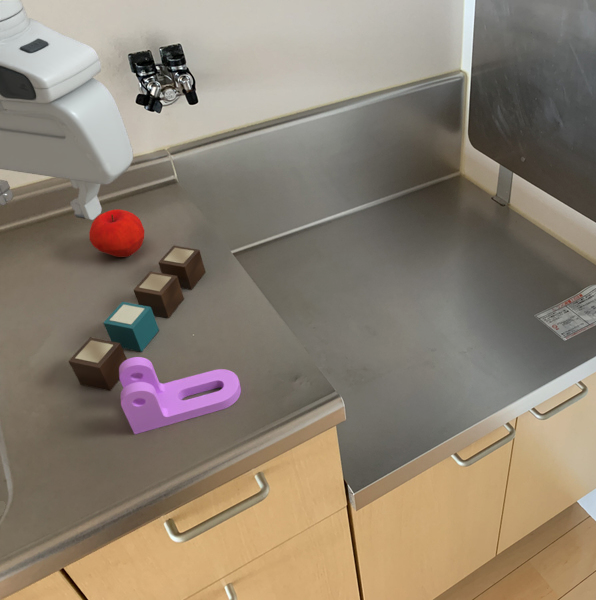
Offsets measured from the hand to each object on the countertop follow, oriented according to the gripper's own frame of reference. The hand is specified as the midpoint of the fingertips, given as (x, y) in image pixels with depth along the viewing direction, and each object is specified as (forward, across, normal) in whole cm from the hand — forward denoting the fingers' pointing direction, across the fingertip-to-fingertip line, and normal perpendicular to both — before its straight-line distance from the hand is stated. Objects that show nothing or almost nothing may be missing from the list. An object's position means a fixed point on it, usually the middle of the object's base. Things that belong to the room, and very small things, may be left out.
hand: (45, 208), depth 56 cm
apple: (+29, -20, +28) cm, 45 cm away
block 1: (+29, -7, +4) cm, 30 cm away
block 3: (+29, -7, +18) cm, 35 cm away
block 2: (+29, -7, +24) cm, 39 cm away
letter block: (+29, -7, +11) cm, 32 cm away
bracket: (+29, +6, +3) cm, 30 cm away
